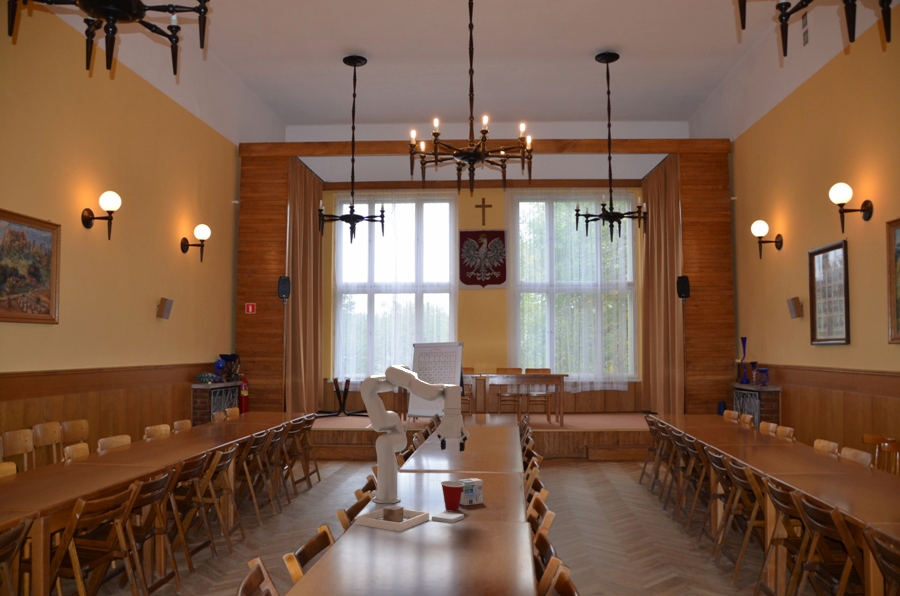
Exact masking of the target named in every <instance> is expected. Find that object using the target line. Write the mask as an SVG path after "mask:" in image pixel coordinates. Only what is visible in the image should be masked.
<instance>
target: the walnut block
mask: <svg viewBox="0 0 900 596" xmlns="http://www.w3.org/2000/svg"><path fill="white" fill-rule="evenodd" d="M403 509H404V506H397V505H389V506H386V508H385V507H383V516H382V518H383V520H384V521H391V522H397V523H400V522H403V521H404V517H403Z"/></svg>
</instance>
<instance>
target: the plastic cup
mask: <svg viewBox="0 0 900 596" xmlns="http://www.w3.org/2000/svg"><path fill="white" fill-rule="evenodd" d="M440 485H441V488H442V496H443V501H444V506H445V510H446V511H447V510H448V511H447V512H456V511H459V509H460V505H461V504H460V499H461V493H462V489H463V487H464V485H465V484H464V483H461V482H457V480H456V481H455V480H445V481H440Z"/></svg>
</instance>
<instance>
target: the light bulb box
mask: <svg viewBox="0 0 900 596" xmlns="http://www.w3.org/2000/svg"><path fill="white" fill-rule="evenodd" d="M456 482H461V483H464V484H465V485H464V487H463V489H462V493H461V499H460V504H459V505H463V506H471V505H478V504H479V505H480V504H483V502H484V501H483V497H484V496H483V493H484V491H483V489H484V484H483V483H484V480H483V479H479V478H476V477H471V478H465V479H457V480H456Z"/></svg>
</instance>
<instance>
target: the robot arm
mask: <svg viewBox="0 0 900 596" xmlns="http://www.w3.org/2000/svg"><path fill="white" fill-rule="evenodd" d="M399 387H401V388H403V389H405V390H409V391H410V393H412V394H413V395H415V397H418V398H420V399H422V400H426V401H429V402H436V401H443V400H444V402H443V403H444V404H443V405H444V406H443V407H444V408H443V409H442V410H441V412H442V413H443V414H442V416H441V421H440V428H438V429H436V430H435V433H436V437H437V438H438V439H439V441H440V451H444V450H446V449H447V441H446V438H448V439H458V440H459V441H460V442H459V452H464V451H465V449H466V446H465V445H466V441H467V440H468V439H469V437H470V435H471V433H470V431H468V430H467V429H465V426H464V418H463V415H462V389H461V386H460V385H459V384H445V383H433V384H431V383H428V382H426V381H423V380H421V379H420V375H419V374H418V373H417V372H414V371H412V370H411V369H410V367H409V366H407V365H406V364H396V365H395V364H393V365H390V366H388V367H387V368H386V370H385V372H384V374H374V375H373V374H372V375H369V376H367V377H366V378H364V380H363V381H362V382H361V385H360V395H361V399H362V402H363V404H364V405H365V409H366V412H367V415H368V418H369V421H370V424H371V426H372V429H373V431H375V432H377V433H382V432H386V433H383V434H381V435H379V436H378V437H377V439H376V440H375V450H376V460H377V462H376V463H377V465H376V466H377V476H376V477H377V481H376V482H377V483H376V485H377V487H376V489H377V490H372V491H371V493H370V494H371V496H375V497H374V498H373V502H375V503H377V504H396V503H399V502H400V501H402V500H401V499H402V498H401V497H399V496H398V458H397V456H396V453H398V452H402V451H404V450H405V449H406V447H407V444H408V438H407V435H406V432H405V429H404V426H403V423H402V420H401V418H400V416H399V415H398V414H397V412H395V411H393V410H386V407H385V405H384V401H383V400H382V399H381V398H380V397H381V396H379V395H378V393H387V392H390V391H393V390H396V389H397V388H399Z"/></svg>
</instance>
